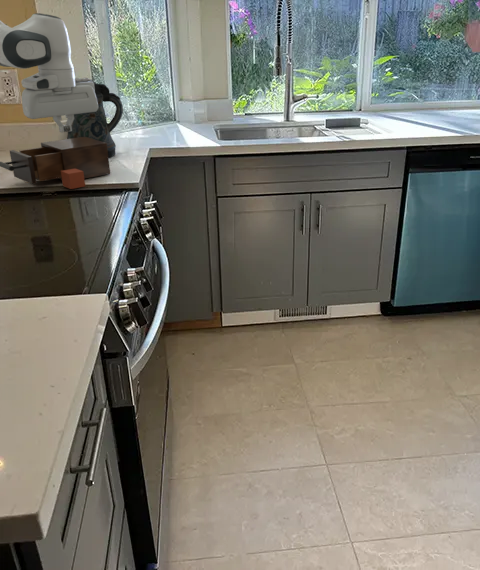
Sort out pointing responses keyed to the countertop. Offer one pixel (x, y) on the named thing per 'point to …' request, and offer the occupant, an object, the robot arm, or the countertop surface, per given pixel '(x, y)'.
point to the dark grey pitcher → (98, 120)
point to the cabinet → (82, 155)
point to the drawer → (35, 164)
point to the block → (73, 178)
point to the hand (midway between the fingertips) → (65, 131)
